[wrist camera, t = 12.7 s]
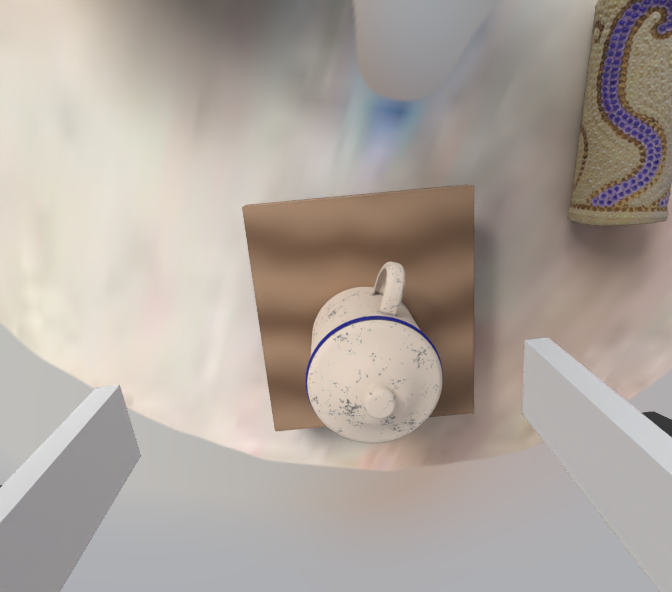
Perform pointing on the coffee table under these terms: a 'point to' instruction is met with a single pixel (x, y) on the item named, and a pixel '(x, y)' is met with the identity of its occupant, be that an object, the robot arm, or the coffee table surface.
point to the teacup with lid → (372, 363)
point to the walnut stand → (363, 280)
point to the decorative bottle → (626, 117)
